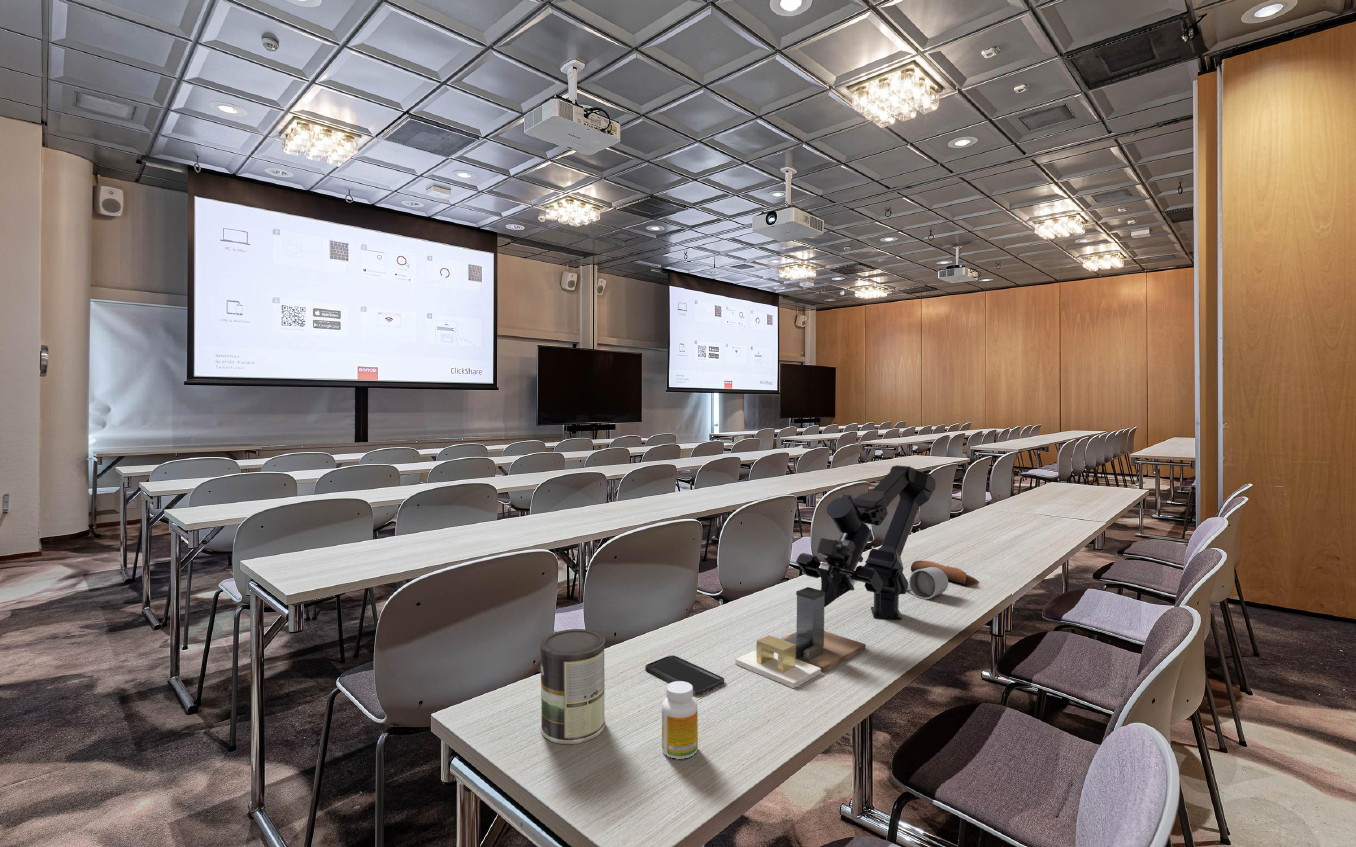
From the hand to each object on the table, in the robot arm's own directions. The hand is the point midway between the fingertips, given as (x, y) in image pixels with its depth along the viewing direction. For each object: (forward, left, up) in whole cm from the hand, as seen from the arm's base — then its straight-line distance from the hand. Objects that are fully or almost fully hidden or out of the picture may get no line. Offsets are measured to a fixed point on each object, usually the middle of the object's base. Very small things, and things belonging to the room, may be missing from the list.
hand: (822, 605), depth 130 cm
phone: (+19, -26, -9) cm, 34 cm away
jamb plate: (+13, -9, -9) cm, 18 cm away
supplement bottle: (+43, -22, -9) cm, 50 cm away
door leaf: (+2, -1, -9) cm, 9 cm away
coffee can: (+40, -40, -9) cm, 58 cm away
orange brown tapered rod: (-59, +37, -9) cm, 70 cm away
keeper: (+13, -9, -9) cm, 18 cm away
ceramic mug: (-40, +28, -9) cm, 50 cm away
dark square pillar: (+6, -4, -7) cm, 10 cm away
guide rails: (+6, -4, -9) cm, 12 cm away
